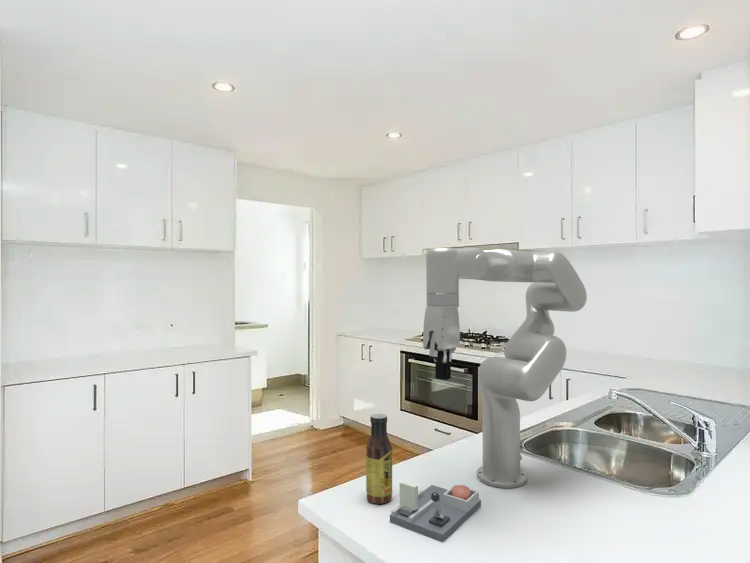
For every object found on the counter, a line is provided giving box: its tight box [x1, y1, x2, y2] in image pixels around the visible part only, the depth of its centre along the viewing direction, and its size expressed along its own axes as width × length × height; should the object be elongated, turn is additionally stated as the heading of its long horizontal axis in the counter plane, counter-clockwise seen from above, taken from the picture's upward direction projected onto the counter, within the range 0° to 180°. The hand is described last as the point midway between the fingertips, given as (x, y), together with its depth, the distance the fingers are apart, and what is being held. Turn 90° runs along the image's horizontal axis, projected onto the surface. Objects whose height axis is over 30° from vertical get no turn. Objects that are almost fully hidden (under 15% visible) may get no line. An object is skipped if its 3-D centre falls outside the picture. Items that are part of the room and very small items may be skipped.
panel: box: [389, 484, 482, 543], centre depth 105 cm, size 18×13×4 cm
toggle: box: [431, 492, 445, 520], centre depth 98 cm, size 2×2×6 cm
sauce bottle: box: [365, 413, 393, 505], centre depth 112 cm, size 7×6×20 cm
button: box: [451, 484, 471, 500], centre depth 107 cm, size 4×4×3 cm
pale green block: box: [398, 480, 419, 516], centre depth 102 cm, size 3×4×6 cm
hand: (443, 378), depth 110 cm, fingers closed
